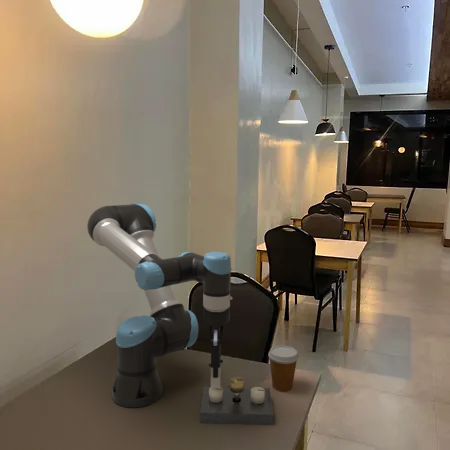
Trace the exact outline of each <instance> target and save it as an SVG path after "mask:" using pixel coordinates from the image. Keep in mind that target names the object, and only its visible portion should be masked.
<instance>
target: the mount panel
mask: <svg viewBox="0 0 450 450" xmlns="http://www.w3.org/2000/svg"><path fill="white" fill-rule="evenodd" d="M210 387H211V386H203V391H202V397H201V405H200V412H199V423H201V424H229V425H231V424H232V425H262V426H264V425H265V426H268V425H271V426H273V425H274V411H273V402H272V395H271V389H270V387H268V388H266V387H265V388H264V387H262V388H263V389H264V390H265V396H264V402H263V403H261V404H256V403H253V402H251V388H252V387H244V391H243V392H241V393H240V397H239V400H238V401H235V400H234V393H233V392H231V391H230V386H229V387H224V386H221V387H222V388H223V400H222V401H221V402H218V403H214V402H211V401H210V400H209V388H210Z"/></svg>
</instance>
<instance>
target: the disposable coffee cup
mask: <svg viewBox="0 0 450 450" xmlns="http://www.w3.org/2000/svg"><path fill="white" fill-rule="evenodd" d="M267 356H268V358H269V363H270V364H269V365H270V373H271V374H270V375H271V382H272V383H271V385H272V388H273V390H275V391H278V392H283V393H284V392H289V391H291V390H292V389H293V385H294V378H295V373H296V367H297V361H298V359H299V356H300V355H299V353H298V350H297V349H295V348H294V347H292V346H289V345H275V346H272V347H271V348H270V350H269V351H268V355H267Z"/></svg>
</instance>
